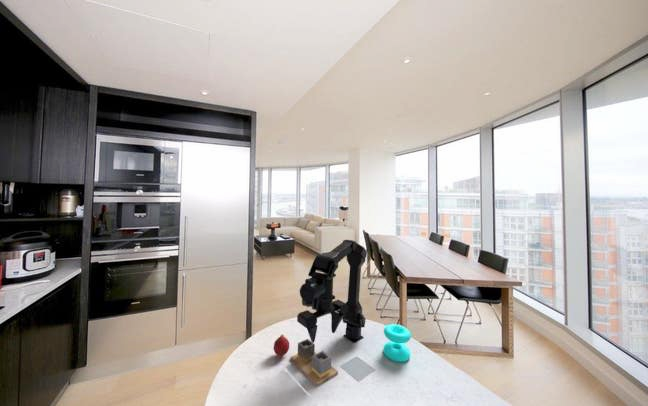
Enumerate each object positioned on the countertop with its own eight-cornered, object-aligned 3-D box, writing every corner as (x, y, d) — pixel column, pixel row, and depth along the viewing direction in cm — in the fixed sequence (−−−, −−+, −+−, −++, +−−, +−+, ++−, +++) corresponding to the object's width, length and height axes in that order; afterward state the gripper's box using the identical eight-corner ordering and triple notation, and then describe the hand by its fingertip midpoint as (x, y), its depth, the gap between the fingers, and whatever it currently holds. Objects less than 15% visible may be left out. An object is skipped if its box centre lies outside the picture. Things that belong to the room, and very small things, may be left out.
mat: (356, 357, 87) (356, 356, 87) (375, 370, 80) (375, 369, 80) (339, 367, 82) (339, 366, 82) (358, 382, 75) (358, 381, 75)
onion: (285, 362, 83) (286, 340, 83) (270, 360, 84) (271, 338, 84) (291, 352, 89) (291, 331, 89) (277, 350, 90) (277, 329, 90)
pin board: (310, 351, 90) (310, 335, 90) (338, 375, 78) (338, 356, 78) (290, 360, 84) (290, 343, 84) (317, 388, 72) (317, 368, 72)
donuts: (399, 321, 96) (416, 334, 86) (399, 345, 96) (415, 361, 86) (379, 324, 93) (394, 338, 83) (378, 349, 93) (393, 366, 83)
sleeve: (330, 372, 77) (331, 357, 77) (320, 378, 75) (320, 362, 75) (322, 365, 81) (322, 350, 81) (312, 370, 78) (312, 355, 78)
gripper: (329, 280, 92) (328, 319, 92) (288, 290, 80) (287, 335, 80) (349, 288, 83) (348, 332, 83) (307, 302, 71) (306, 352, 71)
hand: (323, 337), depth 80 cm, fingers open, 9 cm apart
